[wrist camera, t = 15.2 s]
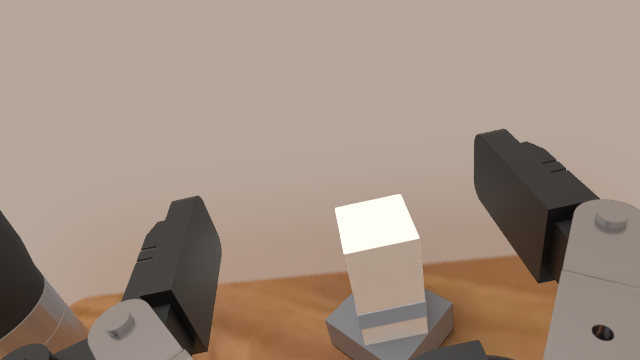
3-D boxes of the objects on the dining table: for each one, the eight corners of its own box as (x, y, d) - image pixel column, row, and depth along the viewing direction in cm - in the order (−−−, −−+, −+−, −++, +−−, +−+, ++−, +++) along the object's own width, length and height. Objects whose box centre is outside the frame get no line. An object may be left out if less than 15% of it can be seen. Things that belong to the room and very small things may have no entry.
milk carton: (428, 333, 39) (420, 238, 32) (364, 346, 39) (343, 255, 33) (411, 283, 44) (400, 193, 38) (354, 295, 44) (334, 207, 38)
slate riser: (402, 395, 39) (398, 371, 37) (332, 343, 45) (325, 320, 43) (453, 328, 43) (452, 303, 41) (383, 288, 49) (379, 265, 47)
